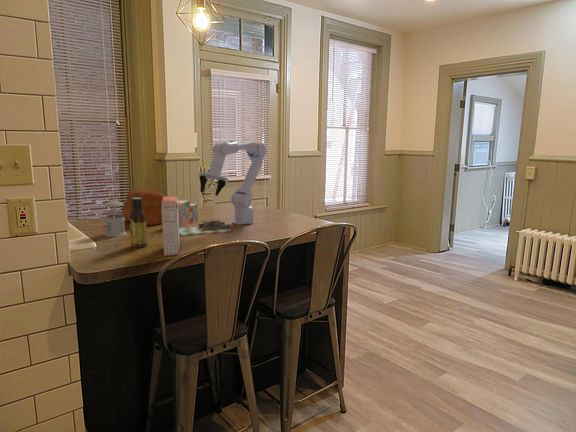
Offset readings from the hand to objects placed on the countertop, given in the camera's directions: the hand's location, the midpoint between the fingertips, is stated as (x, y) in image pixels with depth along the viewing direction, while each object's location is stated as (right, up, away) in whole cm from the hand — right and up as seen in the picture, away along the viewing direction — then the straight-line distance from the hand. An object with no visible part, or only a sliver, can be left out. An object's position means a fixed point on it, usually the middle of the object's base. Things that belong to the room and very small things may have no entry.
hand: (209, 193), depth 196 cm
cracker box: (-8, -25, -35) cm, 44 cm away
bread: (-36, -14, +20) cm, 44 cm away
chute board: (-3, -18, +1) cm, 18 cm away
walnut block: (+1, -17, +3) cm, 17 cm away
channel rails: (+2, -17, +3) cm, 17 cm away
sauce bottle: (-23, -23, -29) cm, 44 cm away
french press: (-41, -19, -9) cm, 46 cm away
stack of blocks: (-16, -15, +16) cm, 27 cm away
